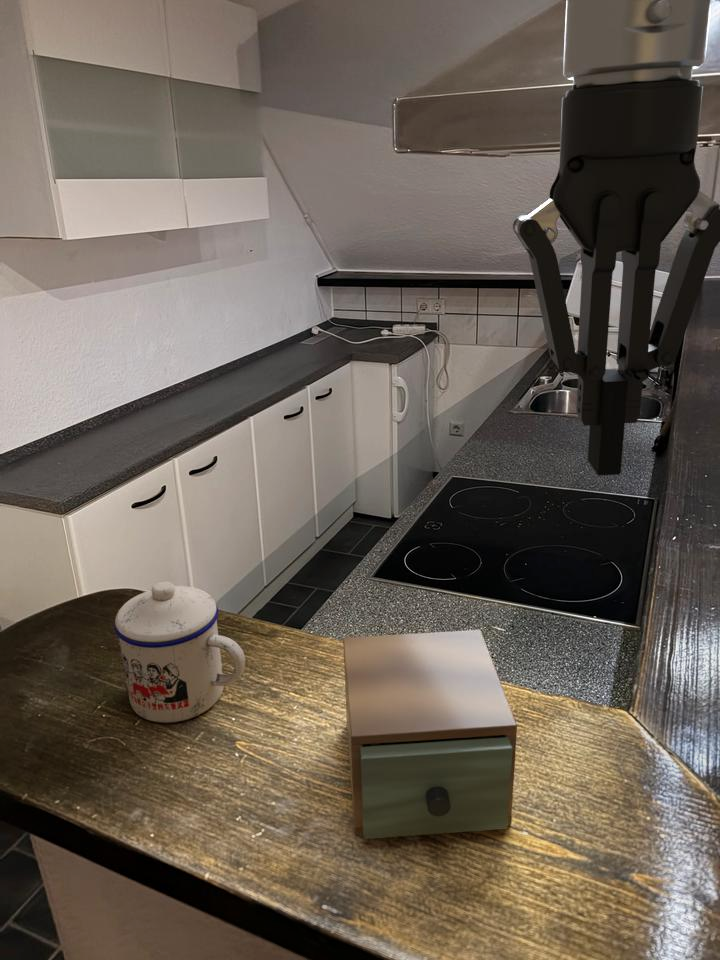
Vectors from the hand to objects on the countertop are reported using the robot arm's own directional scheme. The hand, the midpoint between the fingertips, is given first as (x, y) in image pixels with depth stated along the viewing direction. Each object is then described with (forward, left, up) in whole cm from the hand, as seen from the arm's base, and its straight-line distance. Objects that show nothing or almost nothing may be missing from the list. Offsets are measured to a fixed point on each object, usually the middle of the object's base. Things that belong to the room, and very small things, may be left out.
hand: (603, 466), depth 52 cm
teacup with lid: (+33, -9, -26) cm, 43 cm away
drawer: (+12, +3, -25) cm, 28 cm away
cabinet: (+12, +1, -26) cm, 29 cm away
